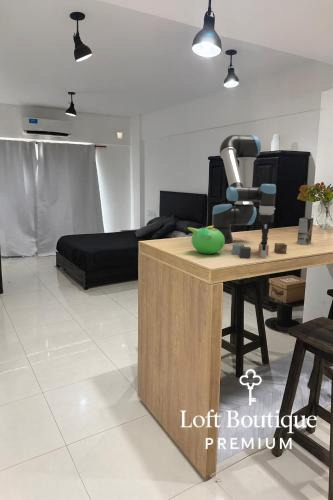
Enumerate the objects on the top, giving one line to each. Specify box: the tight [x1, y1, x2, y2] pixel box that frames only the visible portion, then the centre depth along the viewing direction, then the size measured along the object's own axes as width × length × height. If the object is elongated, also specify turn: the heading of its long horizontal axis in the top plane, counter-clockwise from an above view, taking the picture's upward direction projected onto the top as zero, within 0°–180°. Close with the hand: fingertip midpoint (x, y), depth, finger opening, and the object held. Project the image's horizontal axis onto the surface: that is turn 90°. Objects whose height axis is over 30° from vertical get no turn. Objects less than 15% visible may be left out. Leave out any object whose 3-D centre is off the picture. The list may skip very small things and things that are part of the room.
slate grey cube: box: [231, 243, 245, 256], centre depth 184 cm, size 5×5×5 cm
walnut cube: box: [273, 242, 288, 255], centre depth 189 cm, size 5×5×5 cm
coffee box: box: [296, 217, 315, 246], centre depth 217 cm, size 9×6×16 cm
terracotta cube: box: [257, 243, 270, 256], centre depth 185 cm, size 5×5×5 cm
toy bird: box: [186, 225, 226, 255], centre depth 183 cm, size 18×17×15 cm
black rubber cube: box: [239, 246, 252, 259], centre depth 177 cm, size 5×5×5 cm
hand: (263, 253), depth 185 cm, fingers open, 13 cm apart
